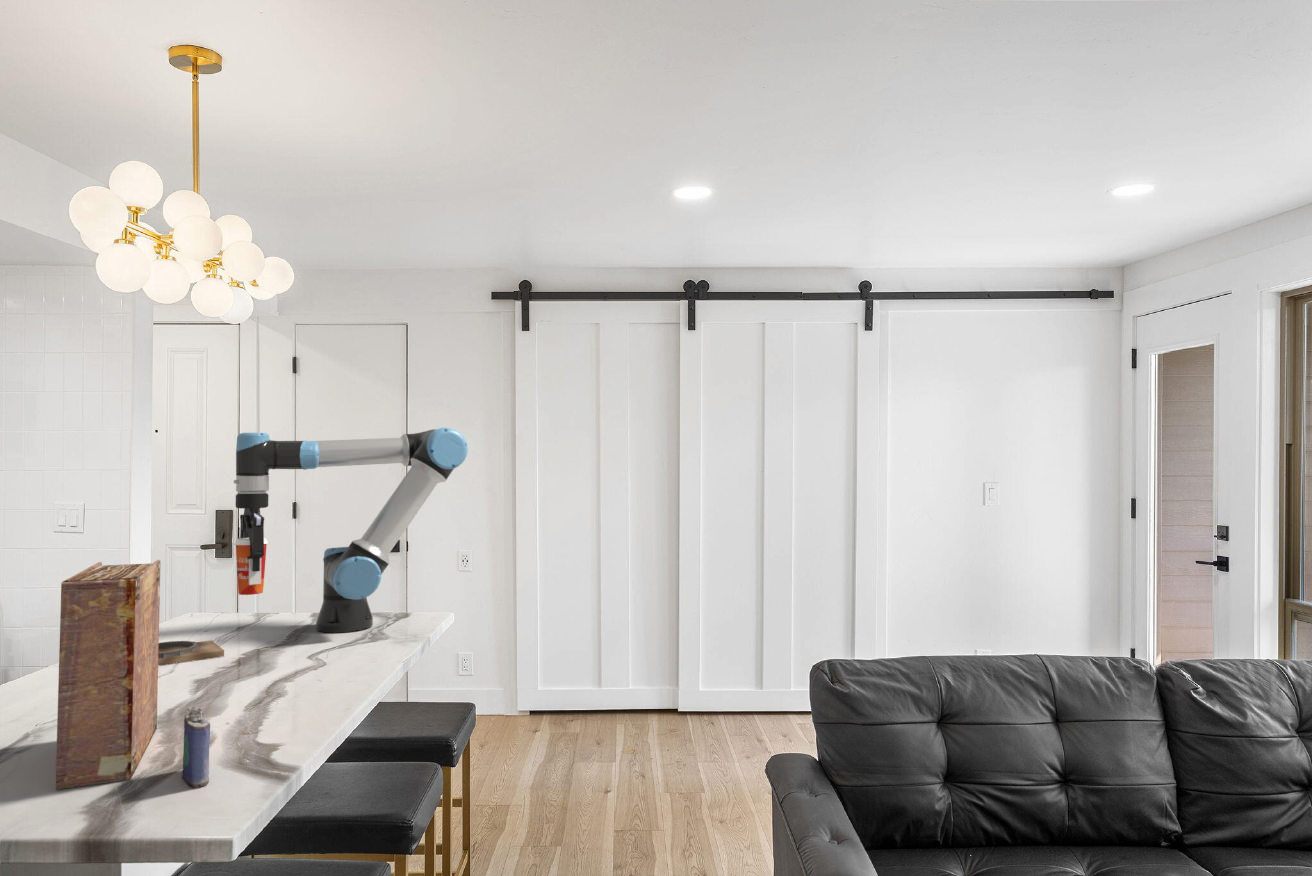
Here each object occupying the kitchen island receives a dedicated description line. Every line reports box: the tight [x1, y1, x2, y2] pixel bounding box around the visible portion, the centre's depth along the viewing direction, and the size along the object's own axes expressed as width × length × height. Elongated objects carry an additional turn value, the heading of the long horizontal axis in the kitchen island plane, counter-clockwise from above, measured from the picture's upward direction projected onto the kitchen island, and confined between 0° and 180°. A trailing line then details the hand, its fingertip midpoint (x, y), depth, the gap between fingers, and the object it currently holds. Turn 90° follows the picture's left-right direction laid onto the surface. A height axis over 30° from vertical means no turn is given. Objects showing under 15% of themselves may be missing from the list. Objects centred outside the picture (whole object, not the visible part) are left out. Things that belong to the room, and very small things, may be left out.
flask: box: [181, 705, 211, 789], centre depth 117 cm, size 9×3×11 cm, turn 39°
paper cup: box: [233, 536, 269, 596], centre depth 200 cm, size 8×8×14 cm
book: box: [55, 559, 161, 791], centre depth 126 cm, size 25×9×30 cm, turn 25°
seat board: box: [158, 639, 225, 666], centre depth 188 cm, size 22×14×3 cm, turn 131°
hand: (251, 582), depth 199 cm, fingers closed on paper cup, 7 cm apart
